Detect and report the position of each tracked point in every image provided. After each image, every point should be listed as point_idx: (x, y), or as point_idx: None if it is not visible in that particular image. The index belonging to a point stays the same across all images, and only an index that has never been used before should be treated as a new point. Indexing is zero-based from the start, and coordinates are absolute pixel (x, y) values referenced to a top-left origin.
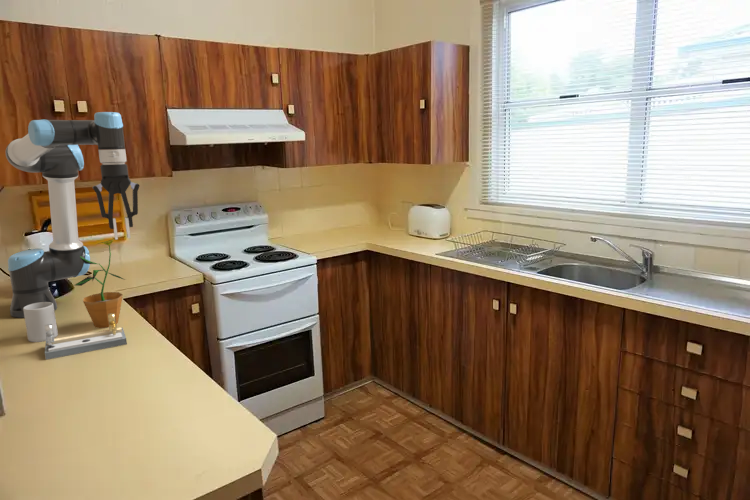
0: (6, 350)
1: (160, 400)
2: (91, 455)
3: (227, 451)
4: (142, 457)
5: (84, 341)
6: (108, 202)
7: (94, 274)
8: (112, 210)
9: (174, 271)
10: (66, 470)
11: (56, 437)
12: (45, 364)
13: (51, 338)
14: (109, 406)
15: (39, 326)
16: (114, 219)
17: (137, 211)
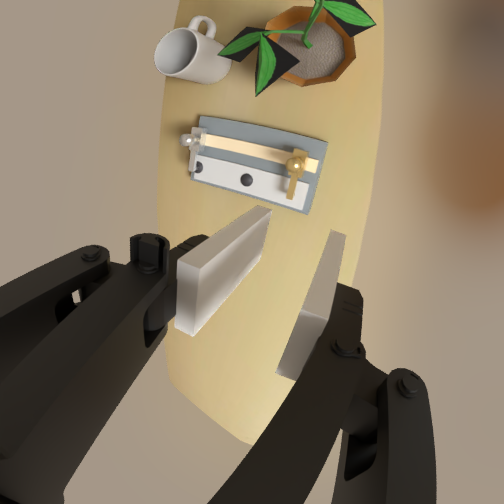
0: (163, 95)
1: (267, 384)
2: (207, 393)
3: None
4: (230, 414)
5: (243, 182)
6: (24, 361)
7: (259, 59)
8: (129, 379)
9: None
10: (194, 392)
11: (191, 362)
12: (193, 198)
13: (194, 161)
14: (229, 359)
15: (189, 80)
16: (187, 330)
17: (376, 448)
